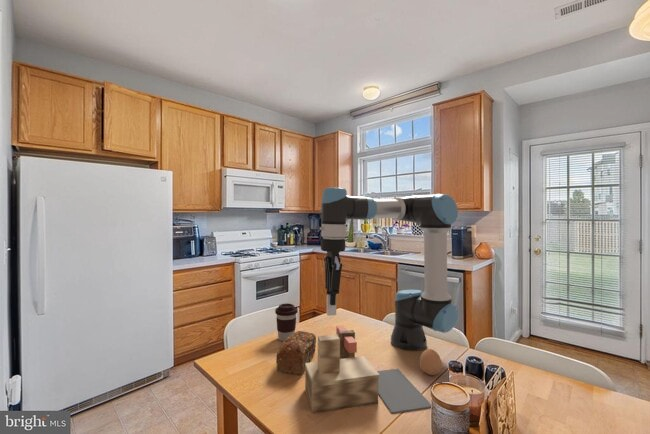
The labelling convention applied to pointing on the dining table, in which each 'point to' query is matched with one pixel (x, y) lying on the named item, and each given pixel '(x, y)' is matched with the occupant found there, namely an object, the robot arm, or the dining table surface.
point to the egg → (430, 362)
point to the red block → (347, 340)
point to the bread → (296, 353)
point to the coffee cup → (286, 320)
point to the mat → (399, 392)
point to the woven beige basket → (341, 389)
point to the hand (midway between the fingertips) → (331, 314)
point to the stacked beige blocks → (337, 365)
